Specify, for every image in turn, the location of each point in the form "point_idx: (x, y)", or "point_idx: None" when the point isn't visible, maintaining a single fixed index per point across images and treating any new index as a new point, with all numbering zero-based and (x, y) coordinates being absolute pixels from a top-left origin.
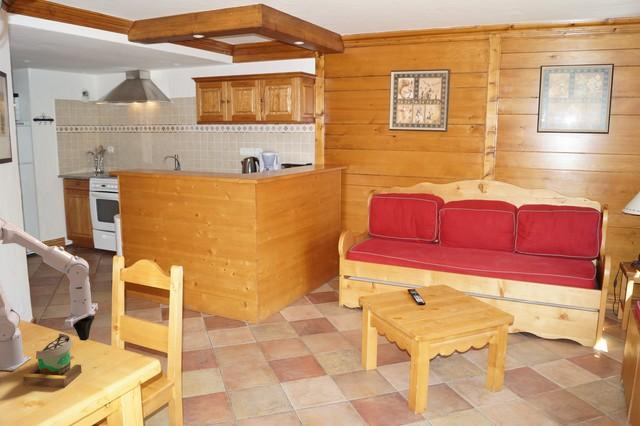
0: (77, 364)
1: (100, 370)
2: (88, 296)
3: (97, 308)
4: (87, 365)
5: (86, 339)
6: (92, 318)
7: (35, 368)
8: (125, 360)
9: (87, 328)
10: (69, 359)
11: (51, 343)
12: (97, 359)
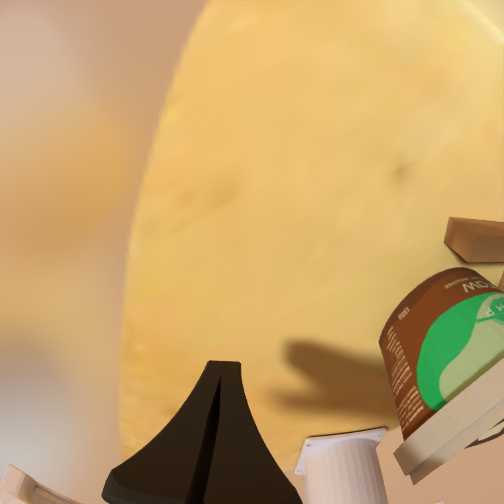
0: (471, 254)
1: (431, 126)
2: None
3: (12, 472)
4: (382, 227)
5: (235, 364)
6: (156, 498)
7: None
8: (300, 21)
9: (227, 434)
10: (483, 306)
11: (501, 431)
12: (309, 206)
